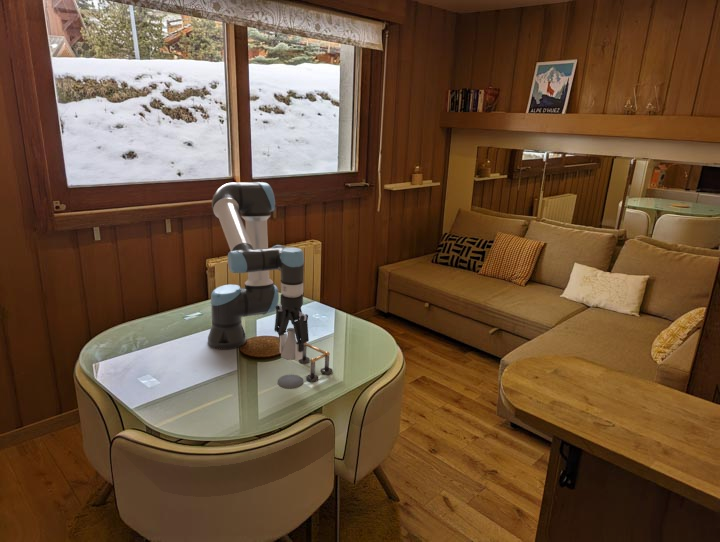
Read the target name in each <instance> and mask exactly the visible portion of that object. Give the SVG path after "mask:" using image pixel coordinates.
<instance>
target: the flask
mask: <svg viewBox="0 0 720 542" xmlns="http://www.w3.org/2000/svg"><path fill="white" fill-rule="evenodd" d="M286 333H287V340H286V343H285V346H284V348H283V350H282V353H280V358H281V359H285V360H286V361H288V360H289V361H290V360H291V361H296V360H295V346H296V343H297V338H296V334H295V330H294V327H287V329H286Z"/></svg>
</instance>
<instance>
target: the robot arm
mask: <svg viewBox="0 0 720 542" xmlns="http://www.w3.org/2000/svg"><path fill="white" fill-rule="evenodd" d="M275 199H276V198H275V194H274V191H273V188H272V186H271V185H270V184H269V183H267V182H263V181H261V182H260V181H252V182H250V181H249V182H247V181H246V182H245V181H244V182H241V181H240V182H238V181H237V182H228V183H225V184H223V185H221V186H220V187H219V188H217V190H216V191H215V193H214V194H213V196H212V200H211V208H212V212H213V215H214V216H215V217H216V218H218V219H219V222H220V226H221V228H222V231H223V234H224V237H225V239H226V242H227V245H228V248H229V250H230V251H229V252H228V253H227V265H228V270H229V271H230V272H231V273H232V274H245V273H247V280H245V282H244V287H241V286H240V285H238V284H234V283H233V284H224V285H219V286H217V287H216V288H214V289H213V290H212V292H211V294H210V307H211V309H210V310H211V327H210V330H209V334H208V336H207V344H208V346H210V347H211V348H213V349H217V350H232V349H237V348H239V347H242V346H243V345H244V344H246V342H247V334H246V332H245V329H244V326H243V323H242V318H244V317H251V316H259V315H260V316H261V315H262V316H263V315H267V314H272V313H274V312H276V313H275V321H274V332H275V333H277V334H278V342H279V353H280V354H281V353H282V350H283V348H284V346H285V343H286V340H287V336H288V333H287V329H288V326H289V322H291V325H292V327H293V328H294V330H295V337H296V341H297V343H296V346H295V360H294V361H297V362H299V361H298V360H300V359H302V358H303V350H304V343H306V342H307V343H308V342H309V341H310V339H309V324H308V319H309V315H308V314H307V313H306V314H304V313H303V310H302V306H303V305H304V294H303V293H304V273H305V272H304V271H305V270H304V269H305V266H304V265H305V257H304V256H305V253H304V251H303V249H301V248H299V247H292V246H291V247H289V246H288V247H287V246H284V245H282V244H276V245H273V246H272V247H269V239H268V220H269V218H271V215H272V214H271V212H274V211H275V208H276V200H275ZM242 219H243V220H244V221H245V225H244V222H243V220H242ZM277 270H279V271H280V294H279V289H278V286H277V285H275V284H274V281H273V280H272V279H271V278H270V271H277ZM279 296H280V304H279ZM242 344H243V345H242ZM241 345H242V346H241Z"/></svg>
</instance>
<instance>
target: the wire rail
mask: <svg viewBox="0 0 720 542" xmlns="http://www.w3.org/2000/svg"><path fill="white" fill-rule="evenodd" d="M307 347H308V348H310V349H312V350H314V351H316V352H319V353H321V355H319V356H317V357H312V358H311V359H310V357H308V356H307ZM330 354H331V353H330V352H329V351H326V350H325V351H324V350H322V349H321V348H318V347H316V346H313V345H312V344H309V343H308V342H306V343H304V350H303V358H302V359H300V360H298V361H297V362H298V363H299V364H308V363H310V366H309V367H310V368H309V369H310V370H309V372H310V373H309V374H308V375H307V376H305V379H306V381H307V382H309V383H316V382H318V380H319V376H318V375H317V374H315V373H316V361H319V360H321V359H323V358H324V367H322V368H320V373H321V374H322V375H332V374H333V369H332V368H331V367H330Z"/></svg>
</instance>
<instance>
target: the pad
mask: <svg viewBox="0 0 720 542" xmlns="http://www.w3.org/2000/svg"><path fill="white" fill-rule="evenodd" d="M303 383H304V379H303V378H302V377H301V376H300V375H298V374H284V375H282V376H279V378H278V379H277V385H278V386H279V387H280V388H284V389H297V388H299V387H301V386H302V385H303Z"/></svg>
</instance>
